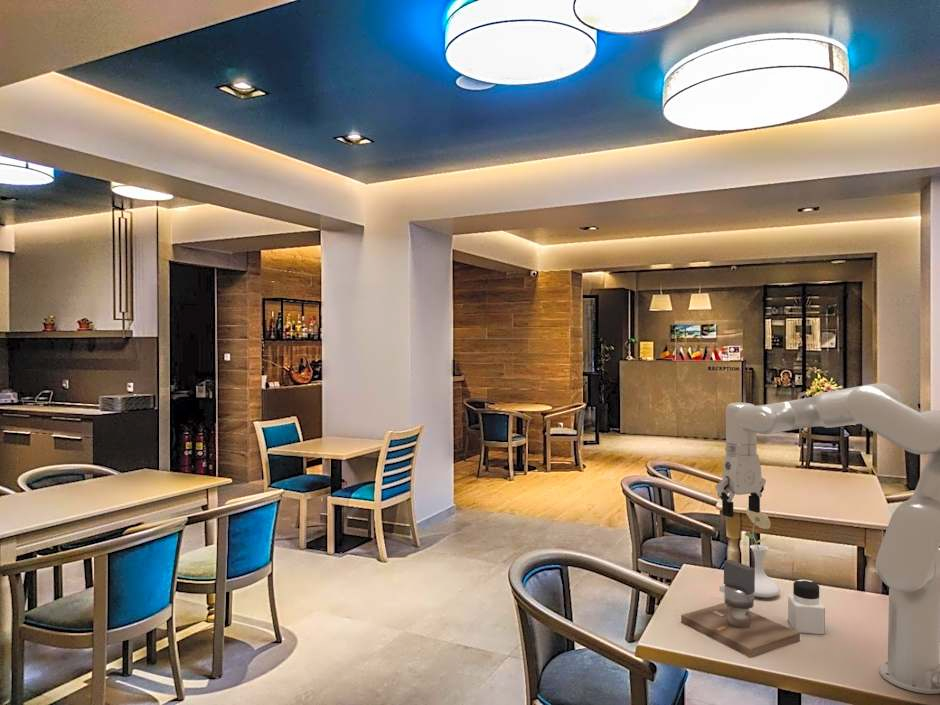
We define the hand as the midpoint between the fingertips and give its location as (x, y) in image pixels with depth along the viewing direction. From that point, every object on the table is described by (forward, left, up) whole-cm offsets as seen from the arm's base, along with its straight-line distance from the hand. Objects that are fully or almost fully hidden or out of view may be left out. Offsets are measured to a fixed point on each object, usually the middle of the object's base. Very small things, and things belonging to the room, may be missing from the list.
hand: (741, 513), depth 177 cm
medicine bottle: (-11, -12, -29) cm, 33 cm away
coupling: (-3, +5, -22) cm, 22 cm away
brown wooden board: (-4, +5, -29) cm, 30 cm away
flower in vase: (+11, -21, -29) cm, 37 cm away
